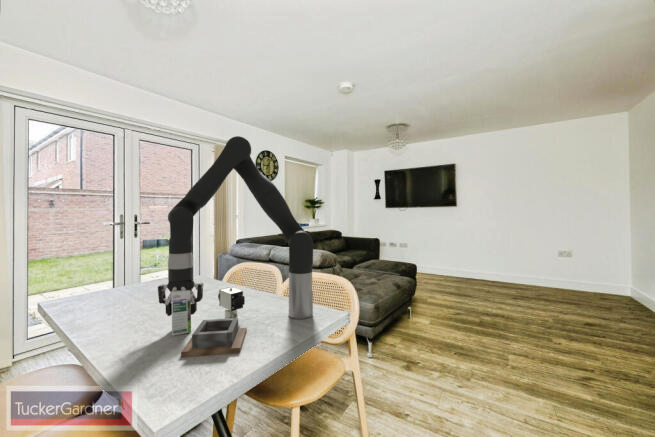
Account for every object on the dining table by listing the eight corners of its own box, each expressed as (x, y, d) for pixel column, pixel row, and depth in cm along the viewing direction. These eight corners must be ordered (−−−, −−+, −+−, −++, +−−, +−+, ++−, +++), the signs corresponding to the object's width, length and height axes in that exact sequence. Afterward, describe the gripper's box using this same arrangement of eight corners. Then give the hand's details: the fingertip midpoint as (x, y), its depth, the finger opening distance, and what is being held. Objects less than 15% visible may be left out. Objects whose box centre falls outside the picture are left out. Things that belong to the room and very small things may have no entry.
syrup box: (171, 336, 90) (171, 292, 90) (172, 329, 95) (171, 287, 95) (191, 332, 93) (190, 290, 92) (190, 326, 98) (190, 285, 97)
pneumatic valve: (233, 324, 99) (233, 291, 99) (217, 316, 107) (217, 286, 106) (247, 320, 103) (247, 288, 103) (230, 312, 111) (230, 283, 111)
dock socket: (246, 332, 93) (246, 315, 93) (240, 352, 79) (240, 334, 79) (196, 335, 91) (196, 318, 91) (180, 357, 77) (180, 337, 77)
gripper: (206, 263, 98) (206, 309, 99) (162, 264, 96) (163, 311, 96) (200, 267, 91) (200, 317, 91) (152, 268, 88) (153, 320, 89)
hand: (181, 314), depth 94 cm, fingers closed on syrup box, 6 cm apart
